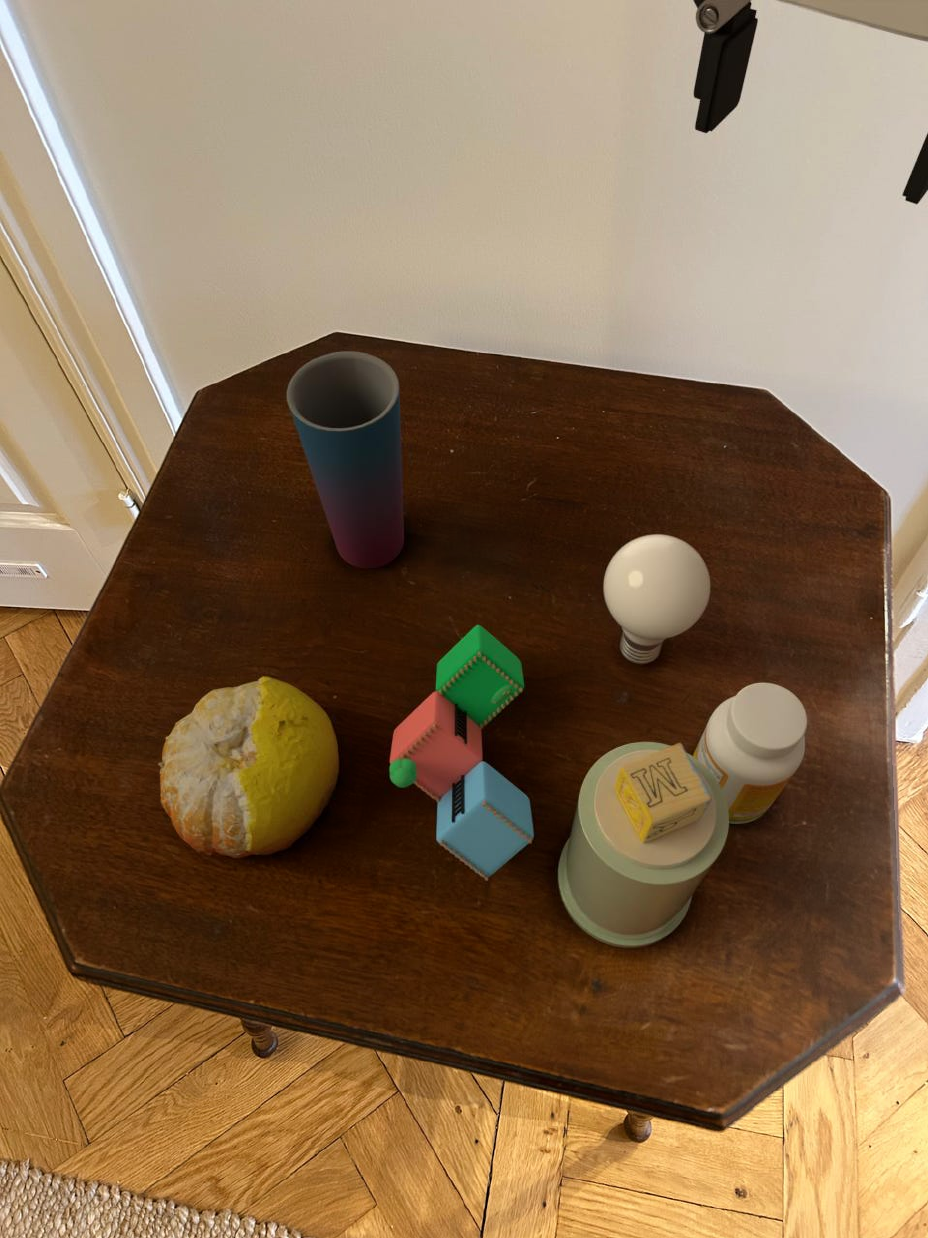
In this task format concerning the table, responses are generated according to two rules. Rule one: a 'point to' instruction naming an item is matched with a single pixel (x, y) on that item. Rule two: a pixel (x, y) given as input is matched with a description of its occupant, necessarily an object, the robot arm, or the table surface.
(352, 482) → the cup
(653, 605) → the lightbulb
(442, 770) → the building blocks
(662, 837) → the upturned tumbler
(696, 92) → the robot arm
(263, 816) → the fruit
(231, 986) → the table surface
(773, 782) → the supplement bottle
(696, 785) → the alphabet block
